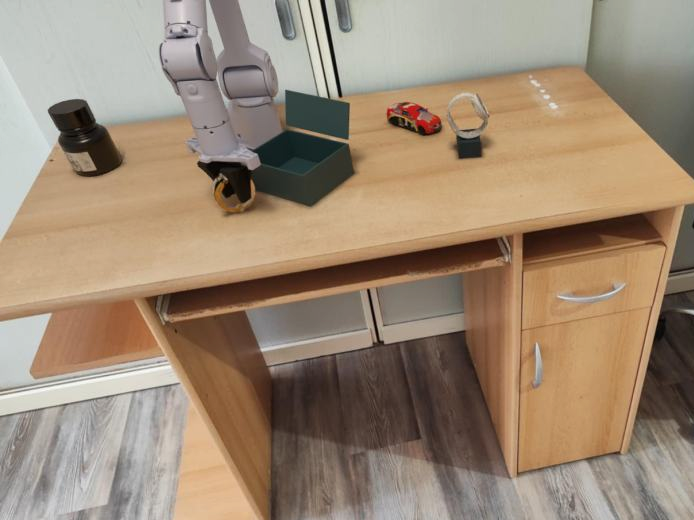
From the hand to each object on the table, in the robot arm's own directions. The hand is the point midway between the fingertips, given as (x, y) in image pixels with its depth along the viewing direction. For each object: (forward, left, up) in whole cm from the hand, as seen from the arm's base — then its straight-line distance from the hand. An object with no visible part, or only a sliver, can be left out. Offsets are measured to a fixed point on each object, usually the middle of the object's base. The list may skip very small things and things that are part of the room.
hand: (238, 197), depth 100 cm
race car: (+10, +41, -3) cm, 42 cm away
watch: (+26, +36, -3) cm, 44 cm away
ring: (0, 0, -3) cm, 3 cm away
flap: (+3, +20, +7) cm, 21 cm away
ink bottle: (-39, 0, -3) cm, 39 cm away
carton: (+3, +13, -2) cm, 13 cm away
